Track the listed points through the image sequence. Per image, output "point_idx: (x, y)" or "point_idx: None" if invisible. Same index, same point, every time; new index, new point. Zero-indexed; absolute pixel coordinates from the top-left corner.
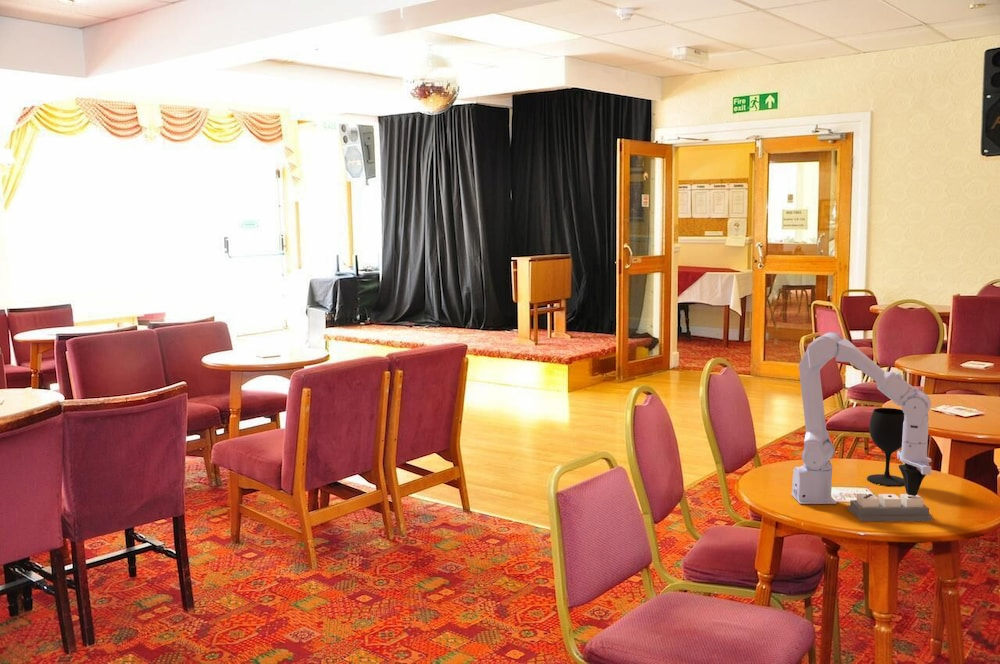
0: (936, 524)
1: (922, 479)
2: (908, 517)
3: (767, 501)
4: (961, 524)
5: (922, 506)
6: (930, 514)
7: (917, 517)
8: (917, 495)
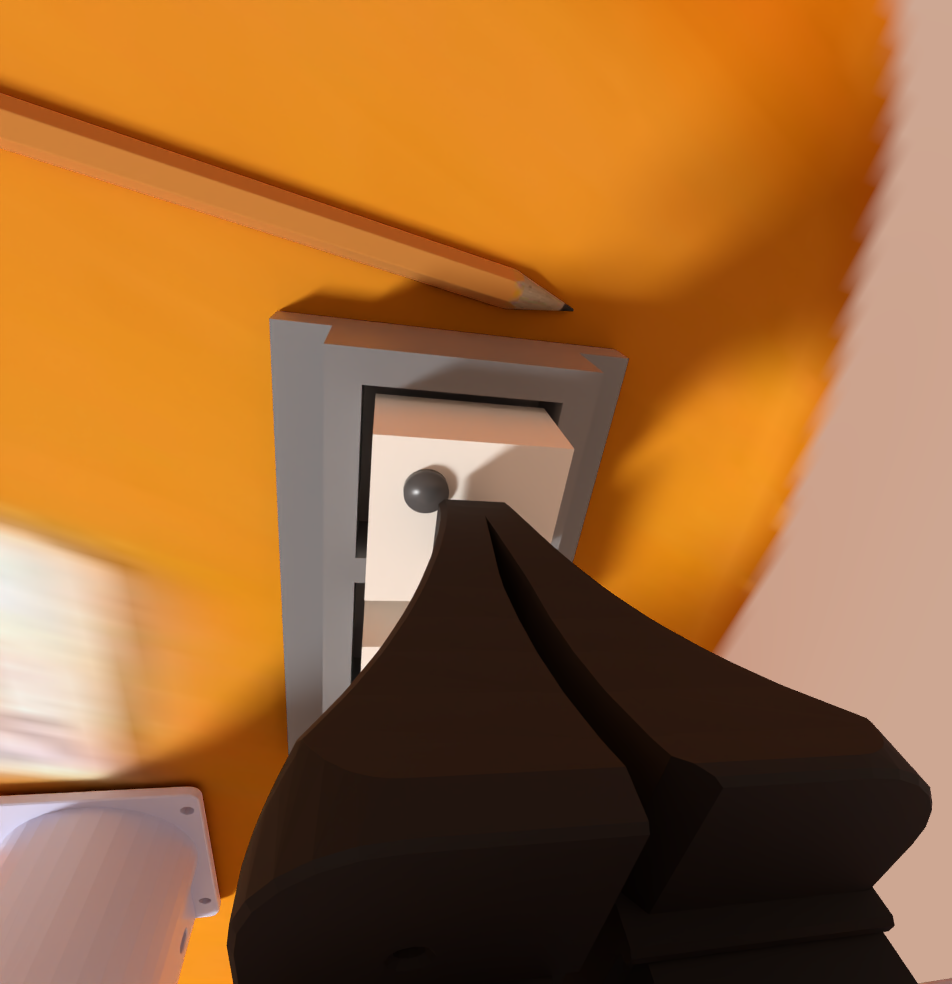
0: (685, 346)
1: (661, 633)
2: (579, 535)
3: (180, 977)
4: (770, 88)
5: (547, 417)
6: (511, 287)
7: (596, 472)
8: (438, 449)
